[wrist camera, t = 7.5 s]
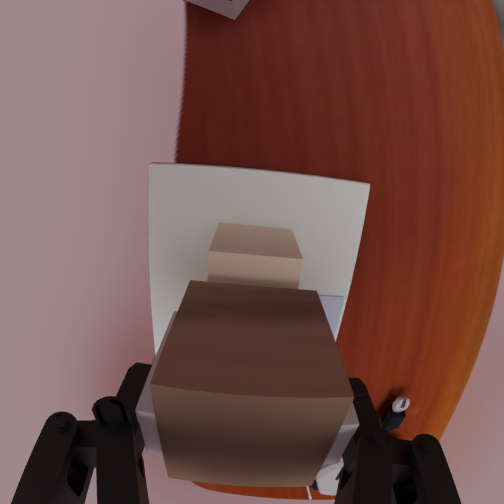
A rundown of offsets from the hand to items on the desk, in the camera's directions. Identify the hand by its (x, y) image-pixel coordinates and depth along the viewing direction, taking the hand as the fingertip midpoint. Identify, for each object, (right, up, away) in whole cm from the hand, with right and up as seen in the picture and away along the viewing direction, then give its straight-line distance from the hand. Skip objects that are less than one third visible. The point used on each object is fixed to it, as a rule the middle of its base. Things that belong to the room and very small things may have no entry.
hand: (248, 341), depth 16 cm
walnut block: (0, 0, 0) cm, 0 cm away
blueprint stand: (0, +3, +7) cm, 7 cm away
